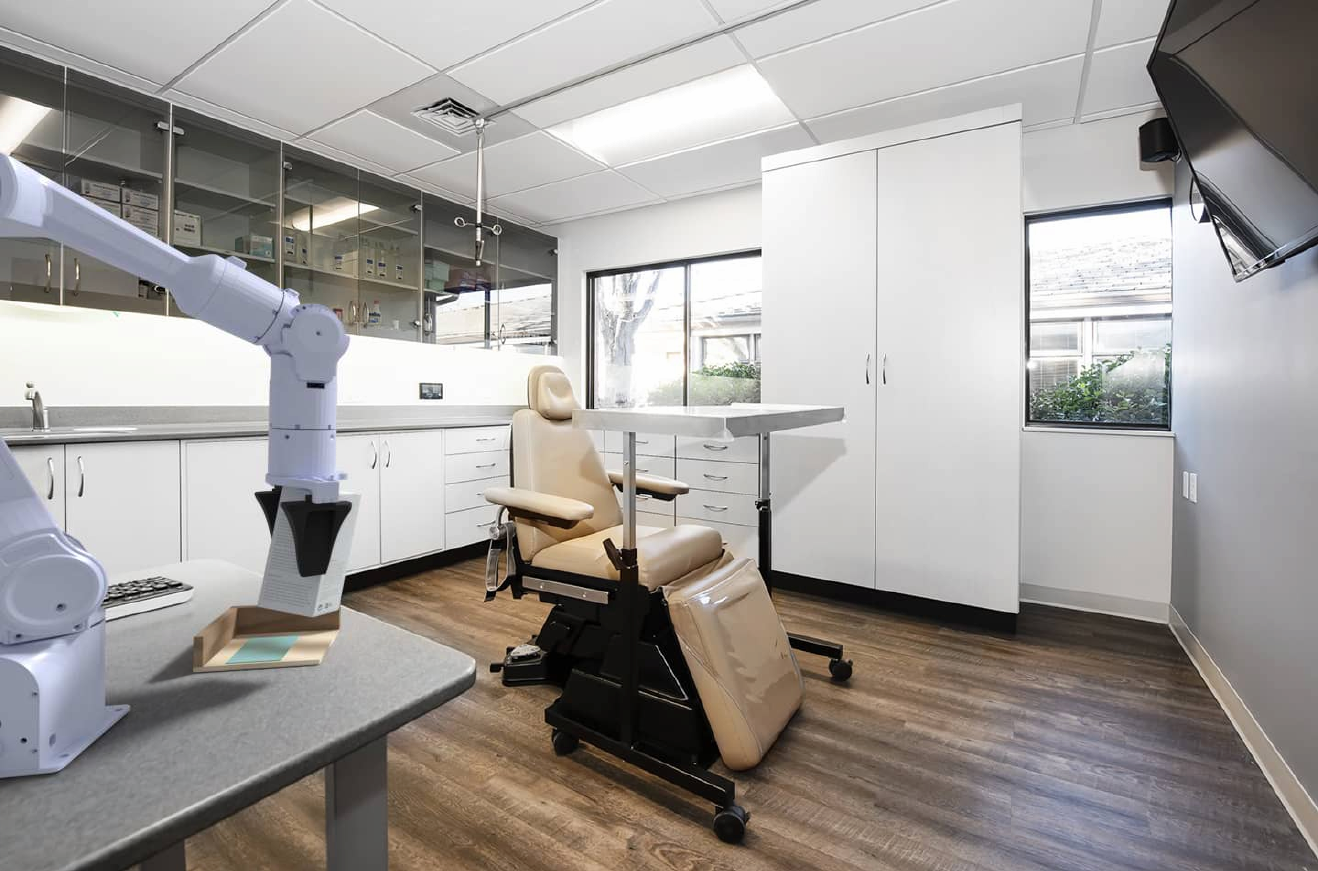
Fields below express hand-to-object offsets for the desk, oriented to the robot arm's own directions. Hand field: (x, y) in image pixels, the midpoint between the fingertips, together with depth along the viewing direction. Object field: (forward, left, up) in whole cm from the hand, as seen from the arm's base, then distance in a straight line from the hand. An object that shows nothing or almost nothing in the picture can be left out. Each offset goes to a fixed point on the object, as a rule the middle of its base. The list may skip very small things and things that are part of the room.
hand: (300, 566), depth 61 cm
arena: (+6, +4, -10) cm, 13 cm away
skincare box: (0, 0, -4) cm, 4 cm away
